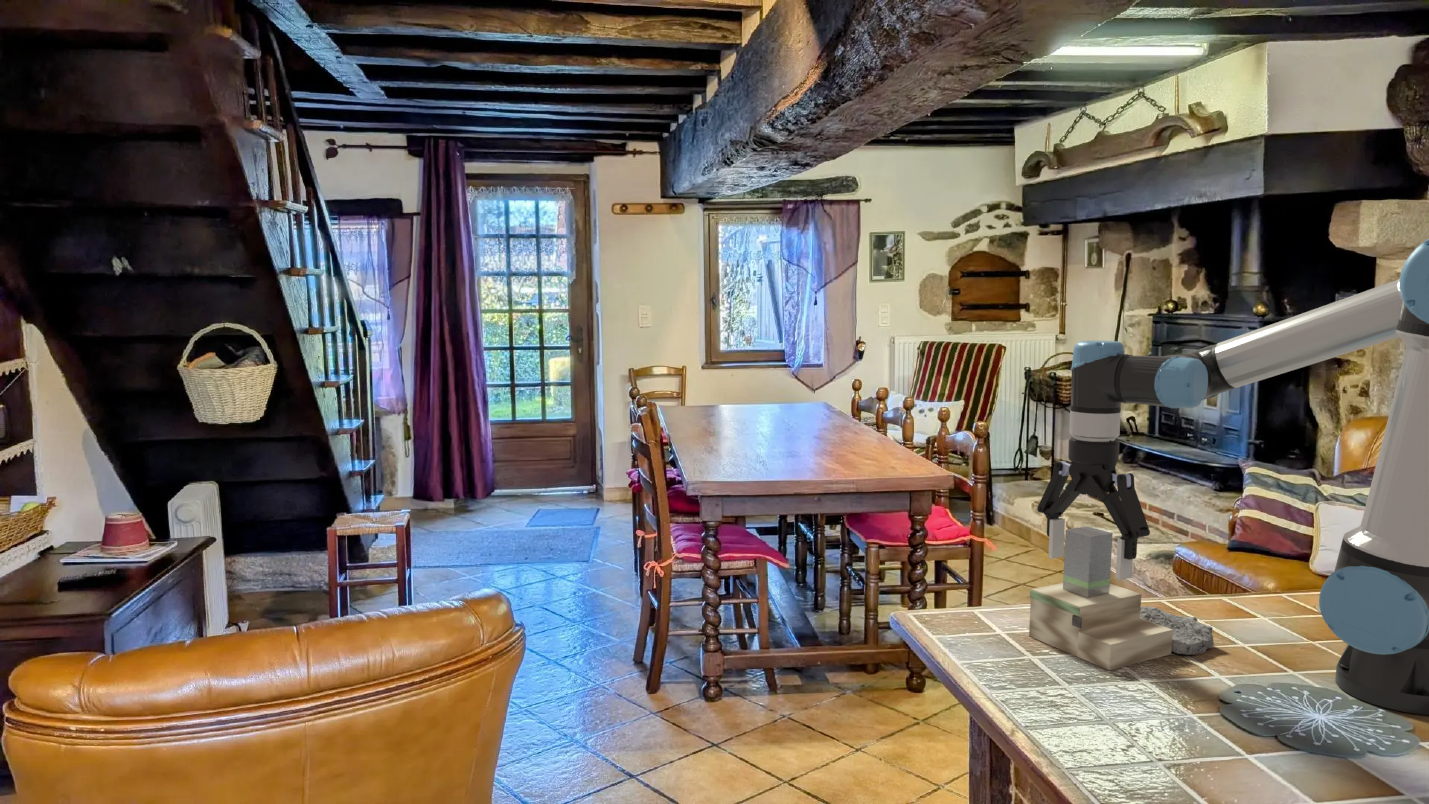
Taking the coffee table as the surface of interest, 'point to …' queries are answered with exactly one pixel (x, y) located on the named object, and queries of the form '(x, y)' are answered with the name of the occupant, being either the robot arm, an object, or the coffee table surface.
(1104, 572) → the column
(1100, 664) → the stand
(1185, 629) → the rock
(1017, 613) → the coffee table surface
